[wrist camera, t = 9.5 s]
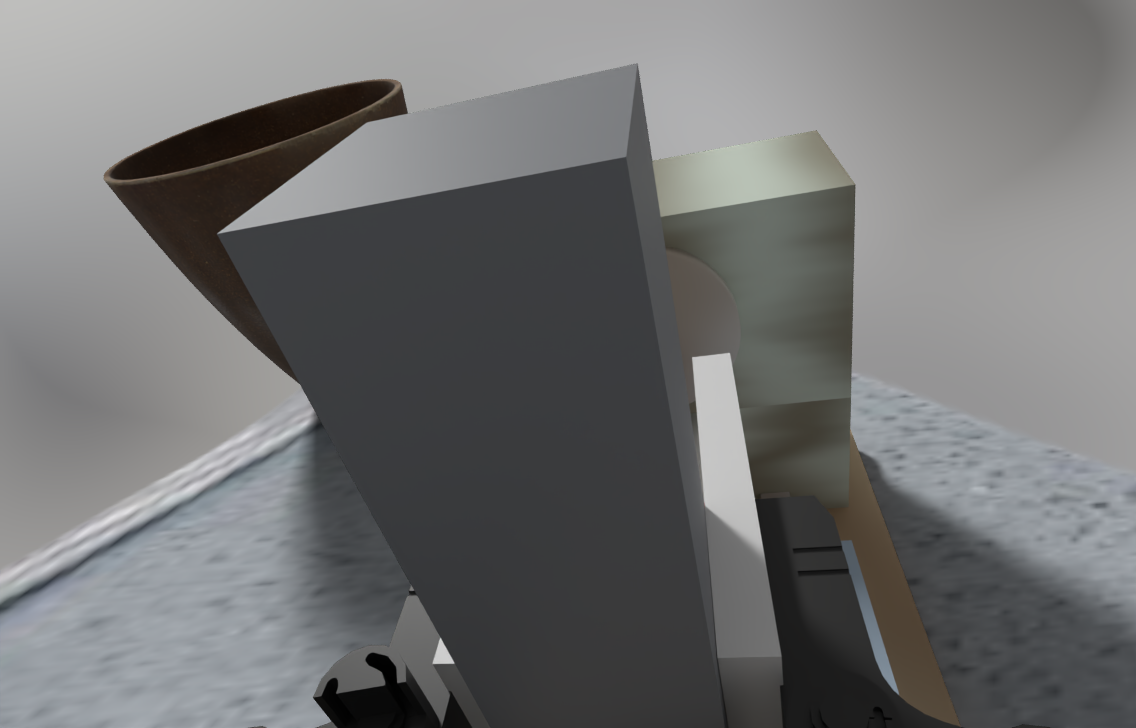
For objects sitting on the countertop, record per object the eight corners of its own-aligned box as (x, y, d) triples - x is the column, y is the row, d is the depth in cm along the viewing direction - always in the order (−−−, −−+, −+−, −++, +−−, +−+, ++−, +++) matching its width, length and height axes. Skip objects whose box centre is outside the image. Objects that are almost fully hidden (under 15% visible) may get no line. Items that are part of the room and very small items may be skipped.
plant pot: (519, 386, 37) (424, 95, 28) (257, 494, 34) (62, 207, 25) (460, 292, 49) (381, 69, 41) (263, 366, 46) (133, 142, 38)
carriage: (442, 1041, 13) (-368, 413, 4) (524, 607, 21) (305, 81, 12) (993, 1105, 11) (1680, 100, 2) (850, 595, 19) (867, -53, 10)
